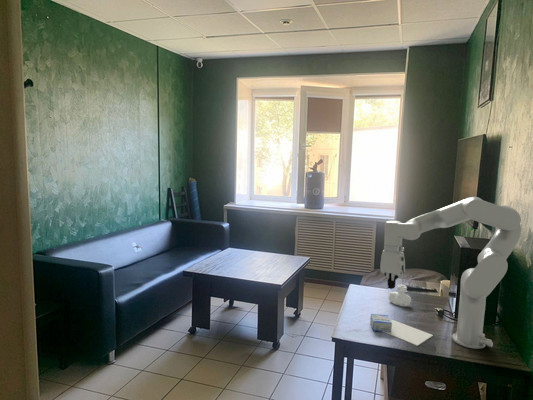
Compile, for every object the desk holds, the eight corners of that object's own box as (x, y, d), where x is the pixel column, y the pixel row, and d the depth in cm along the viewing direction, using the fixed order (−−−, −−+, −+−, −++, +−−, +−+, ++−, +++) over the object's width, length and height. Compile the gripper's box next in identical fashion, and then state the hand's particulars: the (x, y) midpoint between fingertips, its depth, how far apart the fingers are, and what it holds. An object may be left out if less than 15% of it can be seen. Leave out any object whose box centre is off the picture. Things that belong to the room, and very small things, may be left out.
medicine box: (387, 314, 174) (392, 322, 165) (387, 324, 174) (391, 332, 166) (370, 313, 175) (373, 321, 166) (369, 322, 175) (373, 331, 167)
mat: (432, 336, 164) (433, 335, 164) (417, 346, 155) (417, 345, 155) (392, 320, 179) (392, 319, 179) (375, 328, 170) (375, 328, 170)
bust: (410, 311, 196) (416, 291, 200) (407, 305, 191) (413, 285, 195) (388, 304, 204) (394, 285, 208) (384, 299, 199) (391, 280, 203)
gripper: (412, 250, 166) (411, 290, 168) (382, 244, 177) (381, 282, 179) (404, 252, 161) (402, 294, 163) (373, 246, 172) (372, 285, 174)
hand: (391, 287), depth 171 cm, fingers closed
